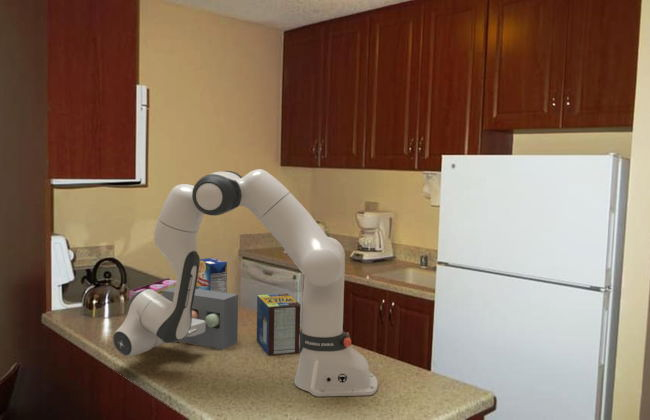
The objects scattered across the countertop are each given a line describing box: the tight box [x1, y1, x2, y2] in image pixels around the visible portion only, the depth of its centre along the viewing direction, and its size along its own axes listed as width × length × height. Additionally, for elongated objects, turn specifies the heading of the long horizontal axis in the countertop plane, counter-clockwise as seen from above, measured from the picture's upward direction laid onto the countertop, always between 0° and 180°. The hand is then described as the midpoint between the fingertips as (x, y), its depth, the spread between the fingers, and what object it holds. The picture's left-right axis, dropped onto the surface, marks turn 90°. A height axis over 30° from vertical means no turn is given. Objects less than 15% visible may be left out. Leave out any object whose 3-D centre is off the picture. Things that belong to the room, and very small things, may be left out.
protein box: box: [256, 292, 302, 356], centre depth 181 cm, size 10×15×16 cm
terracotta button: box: [192, 309, 199, 319], centre depth 181 cm, size 4×4×4 cm
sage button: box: [205, 313, 220, 327], centre depth 178 cm, size 4×4×4 cm
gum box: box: [129, 277, 176, 300], centre depth 206 cm, size 24×8×14 cm, turn 162°
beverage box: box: [196, 257, 228, 293], centre depth 209 cm, size 7×11×22 cm, turn 40°
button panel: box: [162, 287, 239, 351], centre depth 185 cm, size 24×8×16 cm, turn 66°
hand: (189, 317), depth 180 cm, fingers closed, pressing on terracotta button
